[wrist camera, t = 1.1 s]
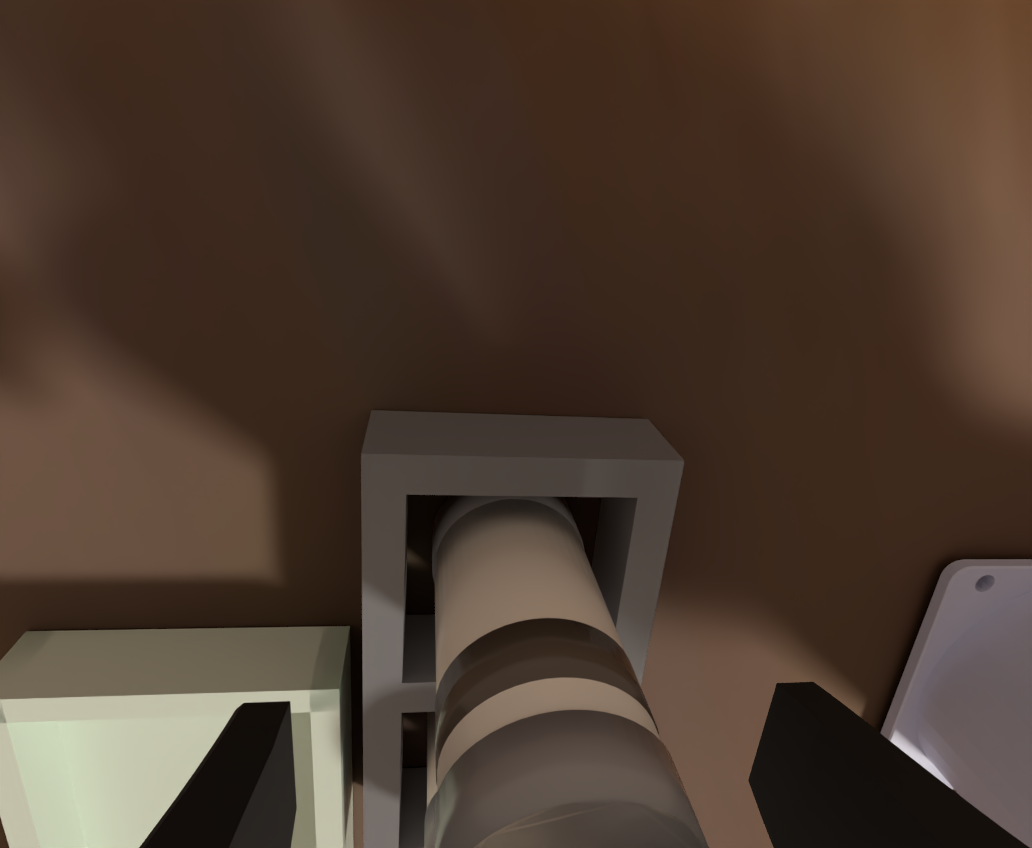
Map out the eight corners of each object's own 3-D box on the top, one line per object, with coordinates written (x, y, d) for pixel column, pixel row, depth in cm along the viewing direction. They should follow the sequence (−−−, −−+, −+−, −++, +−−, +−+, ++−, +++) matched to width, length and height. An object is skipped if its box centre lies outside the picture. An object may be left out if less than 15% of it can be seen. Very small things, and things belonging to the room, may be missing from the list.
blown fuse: (581, 472, 14) (739, 788, 7) (565, 594, 16) (686, 973, 8) (434, 469, 14) (439, 806, 7) (429, 594, 15) (429, 998, 8)
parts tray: (350, 626, 15) (338, 689, 13) (353, 902, 19) (346, 982, 17) (25, 631, 14) (-35, 700, 12) (96, 922, 18) (57, 1010, 16)
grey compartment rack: (647, 419, 14) (727, 510, 10) (587, 779, 18) (629, 940, 14) (371, 410, 13) (348, 505, 10) (371, 792, 17) (355, 966, 13)
